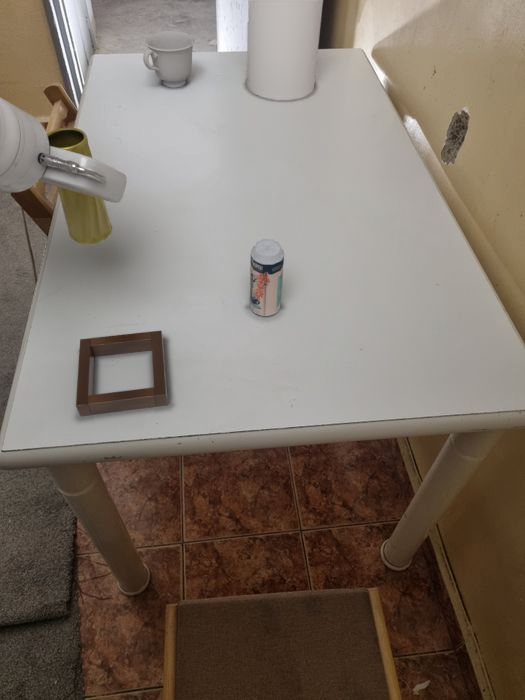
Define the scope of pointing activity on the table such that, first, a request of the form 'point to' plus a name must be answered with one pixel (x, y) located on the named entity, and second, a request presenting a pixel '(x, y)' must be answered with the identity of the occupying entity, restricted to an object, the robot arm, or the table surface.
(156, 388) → the brown wooden square frame
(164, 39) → the teacup
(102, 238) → the vase
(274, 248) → the beer can
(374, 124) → the table surface
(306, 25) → the cylinder
